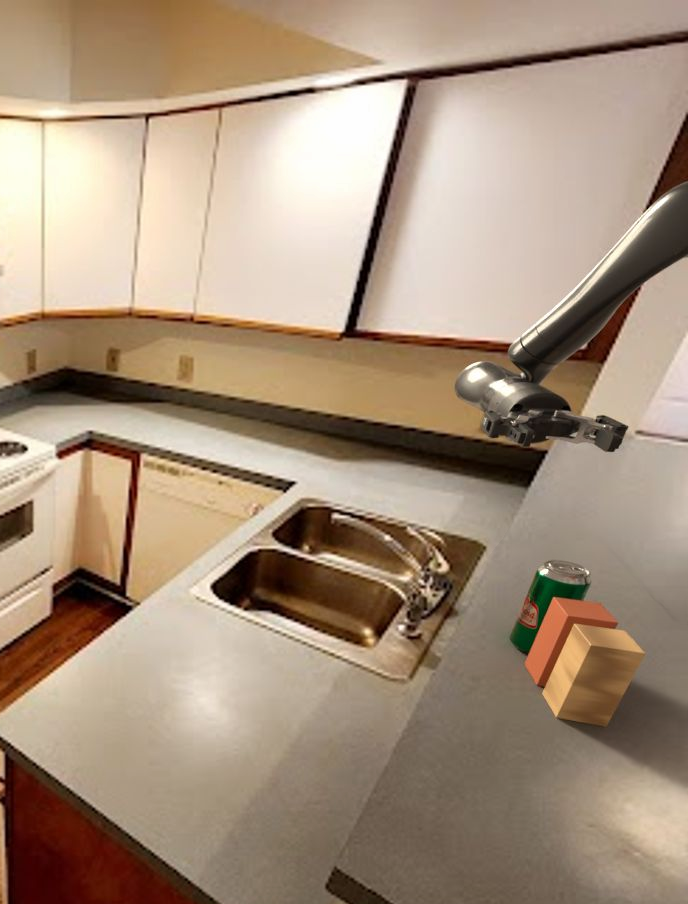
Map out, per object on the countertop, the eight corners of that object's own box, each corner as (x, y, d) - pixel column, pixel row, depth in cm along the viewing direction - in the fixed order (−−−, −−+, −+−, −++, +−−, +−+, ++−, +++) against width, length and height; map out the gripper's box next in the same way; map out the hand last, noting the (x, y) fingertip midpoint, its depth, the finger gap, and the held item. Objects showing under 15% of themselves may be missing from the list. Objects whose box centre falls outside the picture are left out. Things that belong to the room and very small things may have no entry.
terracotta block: (568, 671, 77) (600, 602, 72) (583, 693, 73) (618, 622, 69) (524, 664, 78) (553, 596, 74) (536, 685, 75) (568, 615, 70)
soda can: (503, 633, 84) (535, 555, 79) (551, 641, 82) (586, 562, 77) (513, 653, 80) (547, 573, 75) (563, 663, 78) (602, 580, 73)
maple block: (589, 702, 72) (625, 630, 68) (606, 727, 68) (646, 653, 64) (541, 693, 74) (573, 623, 69) (556, 717, 70) (591, 645, 66)
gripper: (475, 384, 94) (511, 410, 80) (597, 388, 88) (657, 416, 75) (461, 432, 97) (493, 465, 84) (577, 439, 92) (631, 474, 78)
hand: (570, 442), depth 79 cm, fingers open, 8 cm apart
